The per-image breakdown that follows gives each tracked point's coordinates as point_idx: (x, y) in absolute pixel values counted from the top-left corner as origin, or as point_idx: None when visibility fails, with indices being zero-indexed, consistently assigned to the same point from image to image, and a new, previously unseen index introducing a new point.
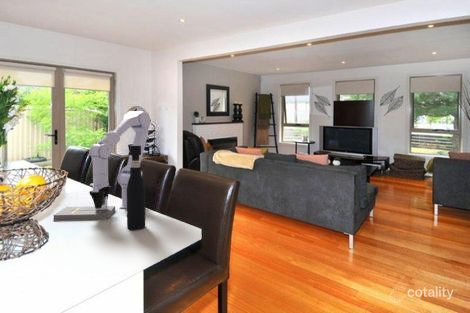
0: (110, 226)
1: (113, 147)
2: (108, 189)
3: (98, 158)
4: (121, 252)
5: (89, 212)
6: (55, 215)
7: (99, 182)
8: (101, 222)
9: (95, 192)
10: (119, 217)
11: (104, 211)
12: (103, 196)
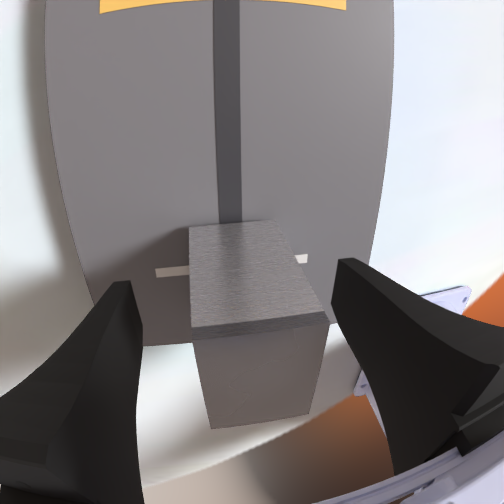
0: (11, 361)
1: None
2: (396, 451)
3: None
4: None
5: (133, 182)
6: None
7: None
8: (42, 306)
9: (15, 488)
10: (165, 366)
11: (182, 306)
12: (266, 403)
